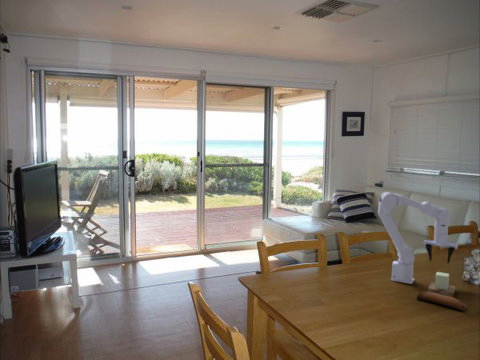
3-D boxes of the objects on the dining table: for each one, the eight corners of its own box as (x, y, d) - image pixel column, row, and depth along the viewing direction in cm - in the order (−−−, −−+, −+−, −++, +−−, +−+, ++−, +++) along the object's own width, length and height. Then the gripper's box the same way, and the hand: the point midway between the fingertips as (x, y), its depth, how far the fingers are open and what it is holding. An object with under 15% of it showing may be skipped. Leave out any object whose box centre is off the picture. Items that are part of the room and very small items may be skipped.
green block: (434, 287, 185) (435, 274, 184) (436, 284, 189) (437, 271, 188) (447, 289, 182) (448, 276, 181) (448, 286, 186) (449, 273, 186)
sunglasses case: (468, 305, 169) (467, 294, 166) (463, 318, 165) (462, 307, 162) (423, 294, 182) (421, 283, 179) (418, 306, 178) (415, 295, 175)
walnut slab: (427, 292, 184) (428, 288, 184) (431, 285, 193) (431, 281, 192) (452, 297, 179) (453, 292, 179) (455, 290, 187) (455, 286, 187)
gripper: (422, 232, 196) (421, 260, 197) (457, 236, 188) (455, 266, 189) (425, 230, 202) (424, 257, 203) (458, 234, 194) (457, 262, 195)
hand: (439, 261), depth 196 cm, fingers open, 7 cm apart
